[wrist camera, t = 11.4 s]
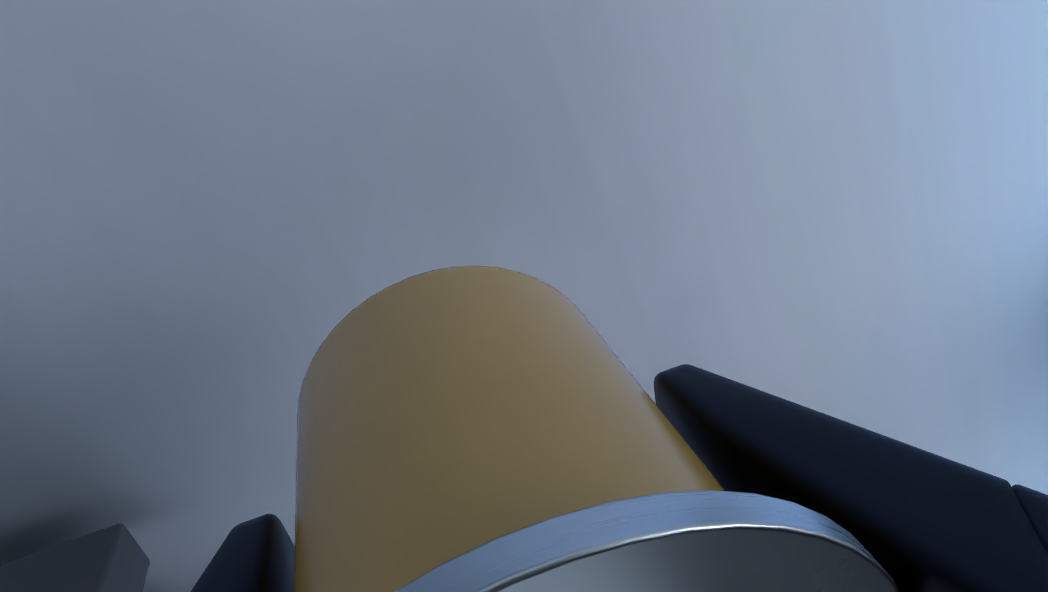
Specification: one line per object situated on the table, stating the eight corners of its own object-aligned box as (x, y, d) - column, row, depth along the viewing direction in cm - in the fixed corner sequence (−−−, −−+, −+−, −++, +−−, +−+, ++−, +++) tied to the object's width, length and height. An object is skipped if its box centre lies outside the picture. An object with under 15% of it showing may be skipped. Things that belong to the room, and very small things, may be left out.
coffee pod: (362, 147, 7) (448, 425, 3) (699, 309, 9) (1028, 595, 5) (189, 508, 8) (66, 1073, 4) (523, 572, 10) (667, 971, 6)
